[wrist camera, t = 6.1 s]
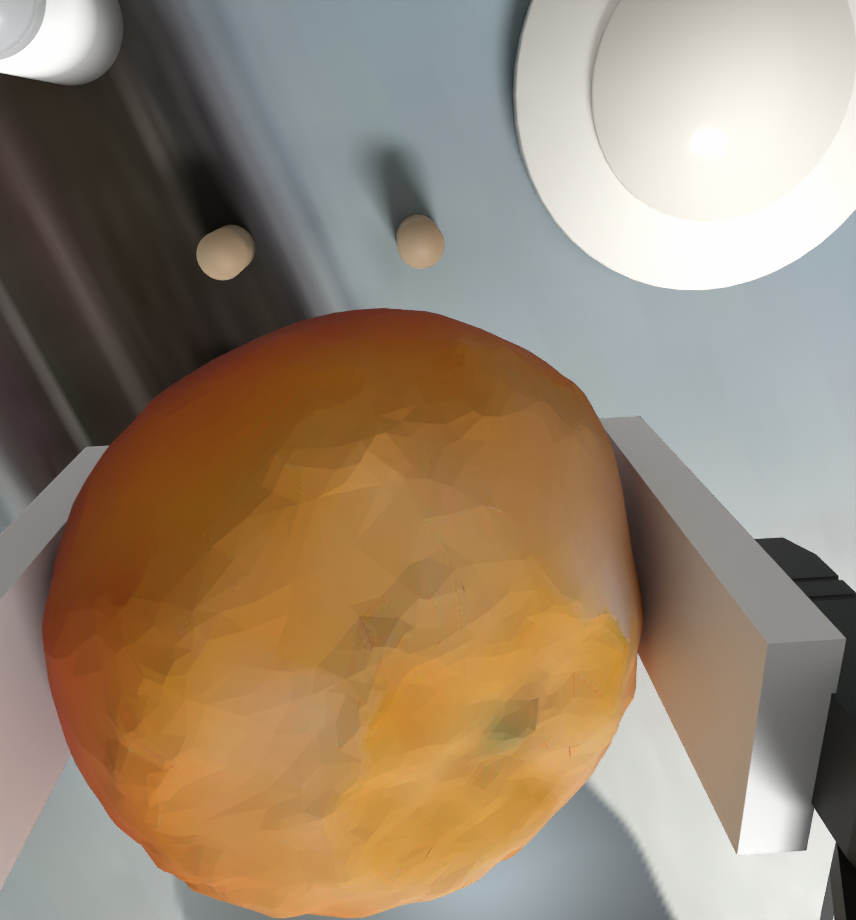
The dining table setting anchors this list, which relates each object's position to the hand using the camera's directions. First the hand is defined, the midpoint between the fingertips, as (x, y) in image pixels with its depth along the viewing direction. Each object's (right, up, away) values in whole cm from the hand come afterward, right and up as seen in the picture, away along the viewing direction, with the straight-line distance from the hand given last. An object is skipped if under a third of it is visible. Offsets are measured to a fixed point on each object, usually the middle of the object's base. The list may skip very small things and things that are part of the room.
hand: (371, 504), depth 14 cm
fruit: (0, 0, 0) cm, 1 cm away
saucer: (+11, +14, +14) cm, 23 cm away
